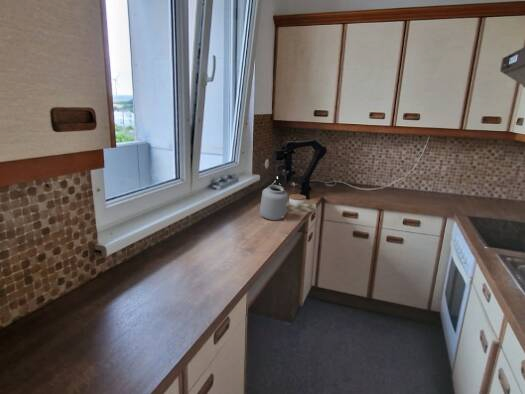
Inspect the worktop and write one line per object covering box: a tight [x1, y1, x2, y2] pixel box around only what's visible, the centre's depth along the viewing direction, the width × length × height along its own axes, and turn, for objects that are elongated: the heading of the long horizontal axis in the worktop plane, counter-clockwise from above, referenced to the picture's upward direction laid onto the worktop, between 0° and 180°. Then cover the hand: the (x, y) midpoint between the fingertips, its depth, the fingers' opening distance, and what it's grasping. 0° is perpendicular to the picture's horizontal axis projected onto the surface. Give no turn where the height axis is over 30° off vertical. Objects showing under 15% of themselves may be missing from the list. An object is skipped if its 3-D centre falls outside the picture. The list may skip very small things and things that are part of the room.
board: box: [285, 203, 317, 213], centre depth 220 cm, size 20×3×4 cm, turn 100°
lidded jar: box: [288, 193, 307, 204], centre depth 226 cm, size 11×11×9 cm
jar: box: [259, 176, 289, 221], centre depth 201 cm, size 19×15×25 cm
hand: (286, 182), depth 243 cm, fingers closed
